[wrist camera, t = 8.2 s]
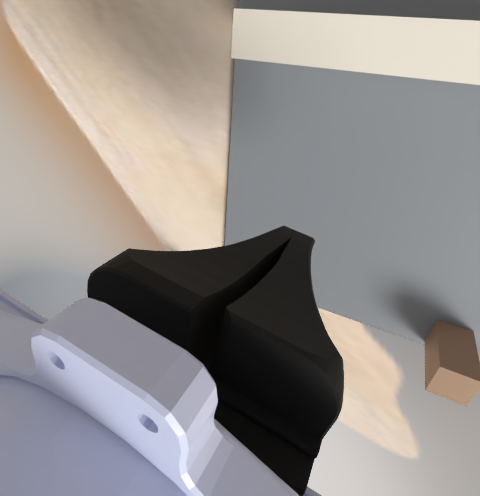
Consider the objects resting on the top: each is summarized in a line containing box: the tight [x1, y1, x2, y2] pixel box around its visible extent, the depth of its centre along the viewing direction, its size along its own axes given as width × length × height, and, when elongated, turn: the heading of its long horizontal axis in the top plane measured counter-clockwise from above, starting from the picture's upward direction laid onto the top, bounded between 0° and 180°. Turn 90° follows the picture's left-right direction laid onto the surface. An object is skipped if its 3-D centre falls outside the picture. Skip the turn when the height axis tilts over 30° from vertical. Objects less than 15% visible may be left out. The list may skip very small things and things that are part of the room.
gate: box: [231, 8, 480, 85], centre depth 12 cm, size 14×2×5 cm, turn 84°
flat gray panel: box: [225, 0, 480, 406], centre depth 15 cm, size 24×21×6 cm
